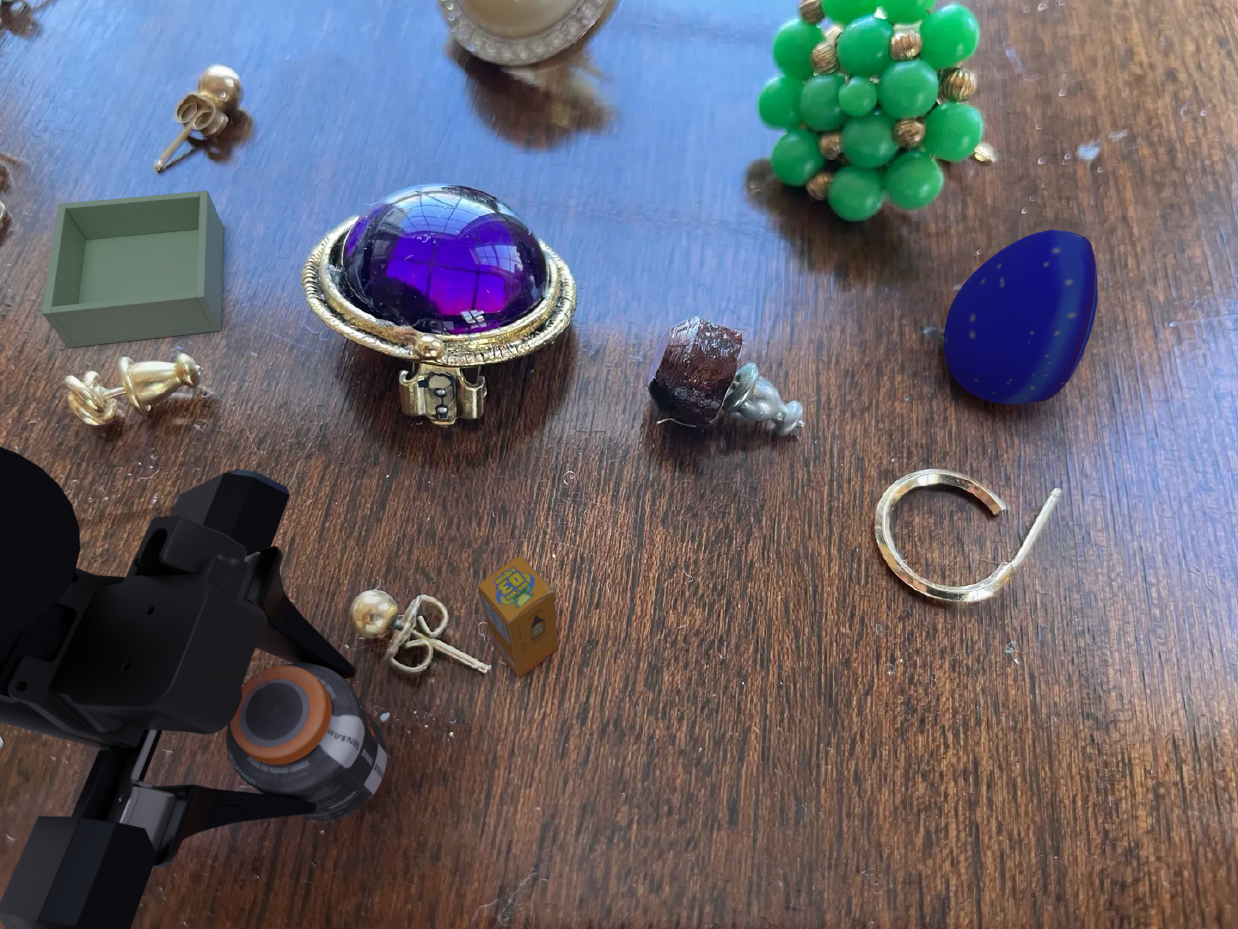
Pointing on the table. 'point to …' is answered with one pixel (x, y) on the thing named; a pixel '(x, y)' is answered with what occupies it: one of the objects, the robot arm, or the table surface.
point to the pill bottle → (307, 740)
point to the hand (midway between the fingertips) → (331, 740)
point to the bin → (135, 269)
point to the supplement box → (520, 615)
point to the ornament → (1024, 319)
